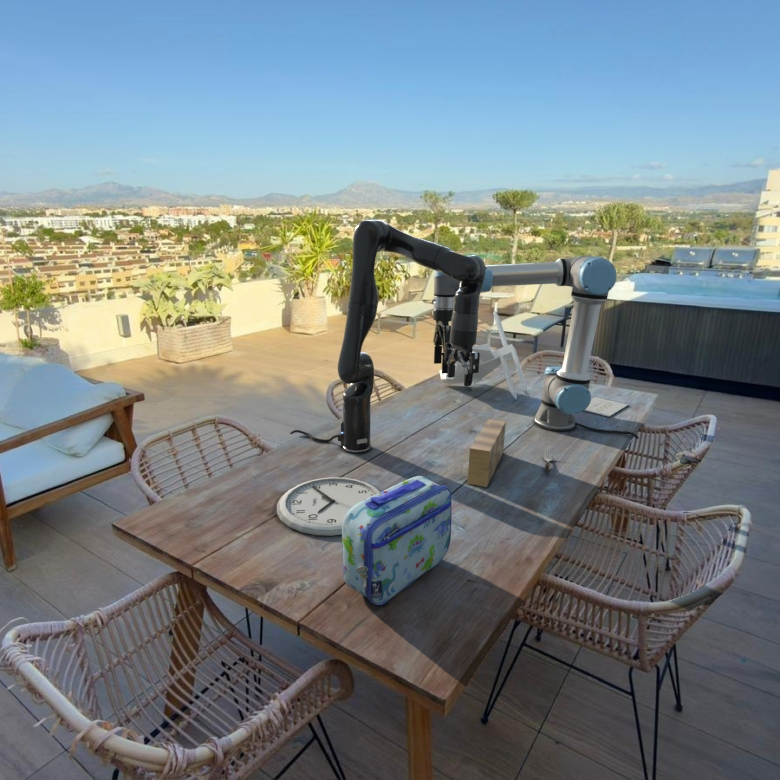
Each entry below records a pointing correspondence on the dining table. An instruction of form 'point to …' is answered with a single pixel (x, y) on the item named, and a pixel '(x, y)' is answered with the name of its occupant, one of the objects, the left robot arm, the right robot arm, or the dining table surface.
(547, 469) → the fork
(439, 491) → the lunch box
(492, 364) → the white plastic object
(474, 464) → the box
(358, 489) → the wall clock
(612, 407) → the invitation card
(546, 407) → the right robot arm
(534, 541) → the dining table surface
